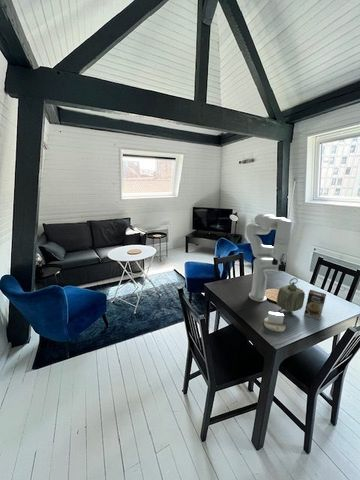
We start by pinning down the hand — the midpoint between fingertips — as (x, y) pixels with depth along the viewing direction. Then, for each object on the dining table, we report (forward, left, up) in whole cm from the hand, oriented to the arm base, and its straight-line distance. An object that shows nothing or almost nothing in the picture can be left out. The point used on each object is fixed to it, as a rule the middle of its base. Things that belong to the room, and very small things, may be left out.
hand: (277, 267), depth 126 cm
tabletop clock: (-4, +13, -34) cm, 36 cm away
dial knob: (+10, 0, -31) cm, 33 cm away
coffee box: (-3, +28, -34) cm, 44 cm away
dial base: (+10, -1, -33) cm, 35 cm away
